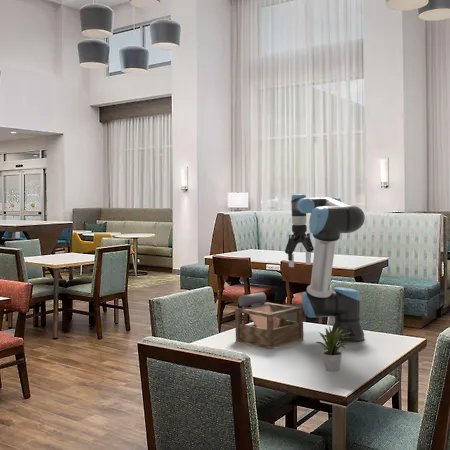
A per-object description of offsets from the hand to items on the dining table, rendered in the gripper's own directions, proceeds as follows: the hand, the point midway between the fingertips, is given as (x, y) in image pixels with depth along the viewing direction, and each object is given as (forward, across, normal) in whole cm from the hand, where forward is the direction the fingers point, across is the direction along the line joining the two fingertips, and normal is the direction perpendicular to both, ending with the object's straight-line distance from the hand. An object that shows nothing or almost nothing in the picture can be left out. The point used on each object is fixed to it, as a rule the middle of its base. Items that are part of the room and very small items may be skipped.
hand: (299, 265), depth 287 cm
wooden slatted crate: (+31, +35, +10) cm, 47 cm away
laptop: (+31, +10, -3) cm, 33 cm away
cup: (+29, +33, +16) cm, 47 cm away
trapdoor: (+21, +35, +3) cm, 40 cm away
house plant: (+31, +53, +59) cm, 85 cm away
